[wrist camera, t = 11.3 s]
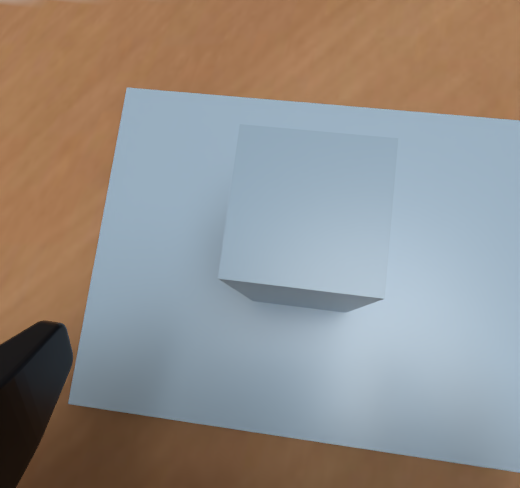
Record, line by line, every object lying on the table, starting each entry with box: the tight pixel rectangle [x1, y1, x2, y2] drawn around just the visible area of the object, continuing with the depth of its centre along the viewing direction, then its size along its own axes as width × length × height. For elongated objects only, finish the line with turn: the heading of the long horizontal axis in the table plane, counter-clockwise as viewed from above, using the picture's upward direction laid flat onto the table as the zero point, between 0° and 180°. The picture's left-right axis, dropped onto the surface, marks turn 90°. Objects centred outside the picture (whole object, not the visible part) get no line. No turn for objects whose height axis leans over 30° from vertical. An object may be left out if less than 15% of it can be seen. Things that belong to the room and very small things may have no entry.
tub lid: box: [68, 88, 520, 473], centre depth 13 cm, size 11×14×8 cm
